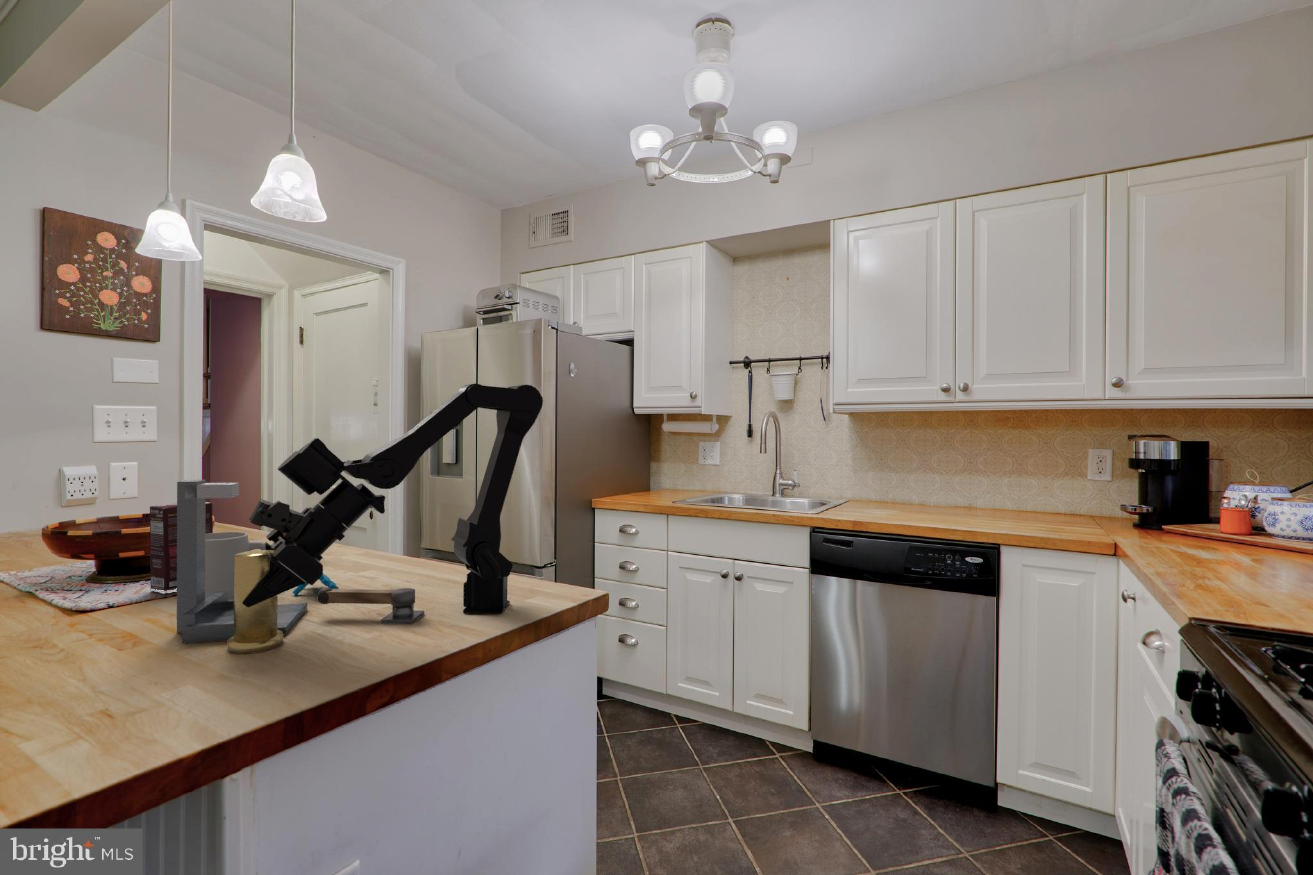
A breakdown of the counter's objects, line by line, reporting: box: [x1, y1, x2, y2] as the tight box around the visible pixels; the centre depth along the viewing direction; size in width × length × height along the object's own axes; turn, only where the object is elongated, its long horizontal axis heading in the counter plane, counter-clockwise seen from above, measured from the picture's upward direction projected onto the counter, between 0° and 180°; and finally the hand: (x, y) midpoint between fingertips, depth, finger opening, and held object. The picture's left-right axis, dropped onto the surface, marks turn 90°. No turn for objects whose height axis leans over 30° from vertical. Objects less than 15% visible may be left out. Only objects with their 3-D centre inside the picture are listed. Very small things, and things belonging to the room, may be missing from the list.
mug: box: [205, 531, 265, 600], centre depth 113 cm, size 12×8×11 cm
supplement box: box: [149, 501, 214, 591], centre depth 116 cm, size 9×5×16 cm, turn 157°
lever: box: [316, 587, 416, 607], centre depth 101 cm, size 16×4×3 cm, turn 90°
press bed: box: [176, 479, 308, 644], centre depth 96 cm, size 16×14×22 cm
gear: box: [291, 573, 340, 596], centre depth 115 cm, size 11×6×10 cm
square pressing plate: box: [380, 603, 425, 625], centre depth 101 cm, size 5×5×2 cm
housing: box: [227, 549, 284, 655], centre depth 88 cm, size 7×7×13 cm
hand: (244, 600), depth 87 cm, fingers closed on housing, 5 cm apart
